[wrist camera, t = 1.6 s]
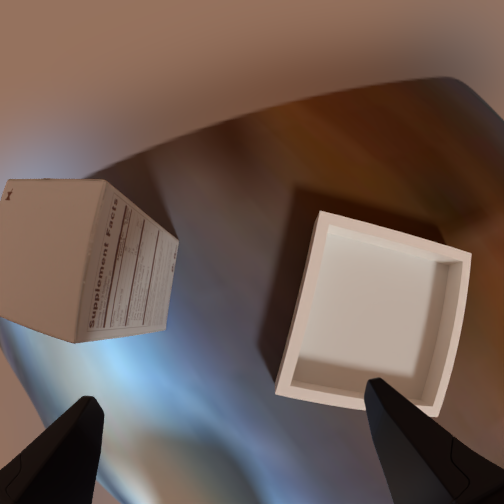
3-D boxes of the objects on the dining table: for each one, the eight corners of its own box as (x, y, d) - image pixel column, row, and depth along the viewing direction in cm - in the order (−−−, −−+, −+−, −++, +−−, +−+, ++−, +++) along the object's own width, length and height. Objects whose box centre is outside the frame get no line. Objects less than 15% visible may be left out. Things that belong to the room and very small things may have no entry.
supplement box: (89, 314, 24) (-24, 308, 11) (104, 229, 25) (5, 173, 13) (168, 333, 23) (73, 349, 11) (183, 239, 24) (106, 174, 12)
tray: (421, 407, 21) (437, 416, 18) (274, 384, 22) (275, 394, 19) (452, 259, 23) (471, 253, 20) (314, 222, 24) (319, 210, 21)
